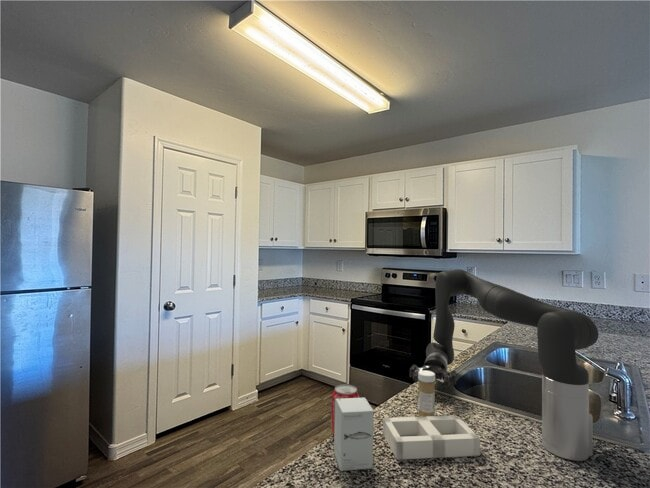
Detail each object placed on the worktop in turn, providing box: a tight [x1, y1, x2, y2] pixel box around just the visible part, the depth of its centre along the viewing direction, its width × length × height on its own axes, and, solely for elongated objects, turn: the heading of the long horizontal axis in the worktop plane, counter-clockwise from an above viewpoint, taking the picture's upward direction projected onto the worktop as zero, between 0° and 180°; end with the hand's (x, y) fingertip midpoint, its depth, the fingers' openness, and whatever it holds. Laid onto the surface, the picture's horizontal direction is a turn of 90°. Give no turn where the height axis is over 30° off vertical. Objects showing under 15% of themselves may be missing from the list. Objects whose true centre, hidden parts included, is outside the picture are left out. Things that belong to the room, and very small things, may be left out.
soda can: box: [330, 383, 360, 436], centre depth 86 cm, size 7×7×12 cm
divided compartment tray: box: [382, 414, 481, 460], centre depth 83 cm, size 20×11×4 cm, turn 96°
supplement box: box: [333, 396, 375, 472], centre depth 76 cm, size 7×7×13 cm
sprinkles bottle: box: [417, 370, 436, 417], centre depth 95 cm, size 5×5×13 cm
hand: (430, 381), depth 104 cm, fingers open, 8 cm apart
